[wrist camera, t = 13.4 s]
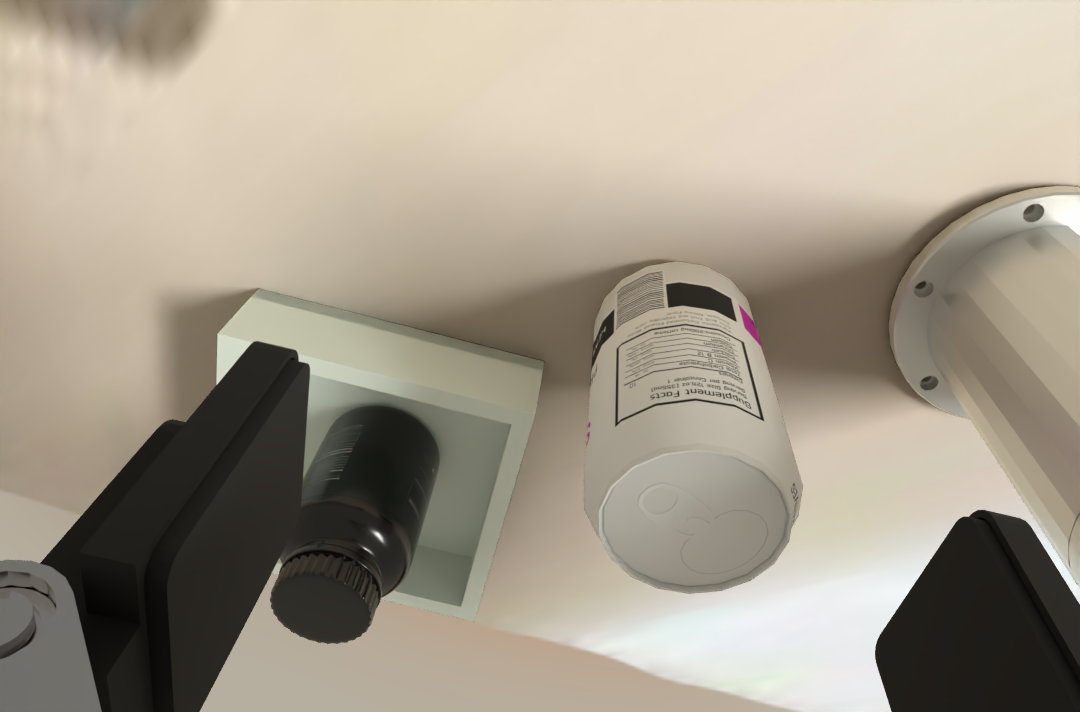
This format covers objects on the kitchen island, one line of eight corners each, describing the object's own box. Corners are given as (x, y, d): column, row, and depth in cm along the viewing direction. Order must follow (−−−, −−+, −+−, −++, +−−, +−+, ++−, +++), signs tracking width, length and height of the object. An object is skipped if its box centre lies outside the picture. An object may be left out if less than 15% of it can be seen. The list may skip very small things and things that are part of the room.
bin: (544, 361, 43) (535, 414, 39) (486, 560, 51) (474, 621, 47) (258, 288, 42) (217, 333, 38) (246, 502, 51) (212, 559, 46)
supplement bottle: (333, 487, 48) (255, 650, 38) (323, 395, 44) (233, 548, 34) (444, 498, 48) (395, 666, 37) (443, 406, 44) (387, 564, 34)
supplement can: (785, 318, 40) (860, 519, 28) (676, 417, 44) (697, 633, 31) (667, 224, 38) (688, 393, 26) (563, 336, 42) (537, 532, 29)
